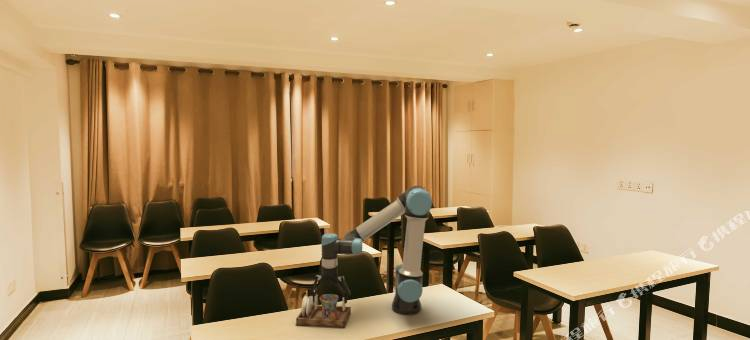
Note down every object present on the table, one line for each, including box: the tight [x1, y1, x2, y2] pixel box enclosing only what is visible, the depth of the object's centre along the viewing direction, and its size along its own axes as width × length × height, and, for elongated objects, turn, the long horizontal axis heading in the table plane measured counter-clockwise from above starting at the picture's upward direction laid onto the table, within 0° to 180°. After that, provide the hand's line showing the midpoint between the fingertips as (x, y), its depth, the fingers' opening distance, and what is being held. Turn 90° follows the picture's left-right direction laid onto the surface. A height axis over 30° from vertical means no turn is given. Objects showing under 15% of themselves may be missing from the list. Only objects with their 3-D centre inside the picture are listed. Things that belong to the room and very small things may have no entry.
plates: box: [300, 295, 314, 318], centre depth 215 cm, size 3×10×10 cm, turn 173°
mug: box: [318, 293, 340, 320], centre depth 214 cm, size 12×9×11 cm
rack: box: [295, 304, 352, 329], centre depth 215 cm, size 23×17×4 cm
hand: (330, 309), depth 214 cm, fingers open, 13 cm apart
